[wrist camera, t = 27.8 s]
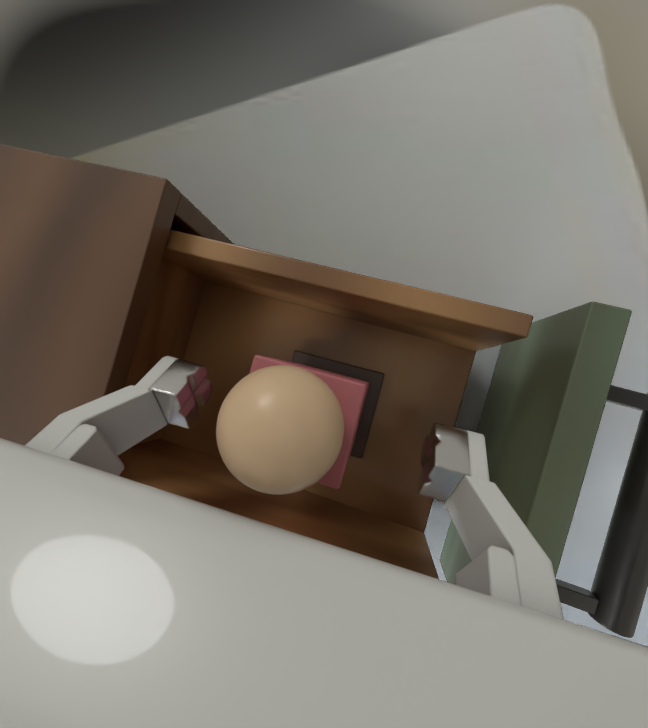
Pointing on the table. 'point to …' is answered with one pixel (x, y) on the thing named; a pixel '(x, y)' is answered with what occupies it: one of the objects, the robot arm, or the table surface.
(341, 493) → the drawer
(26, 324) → the cabinet
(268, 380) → the peg doll
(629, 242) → the table surface
